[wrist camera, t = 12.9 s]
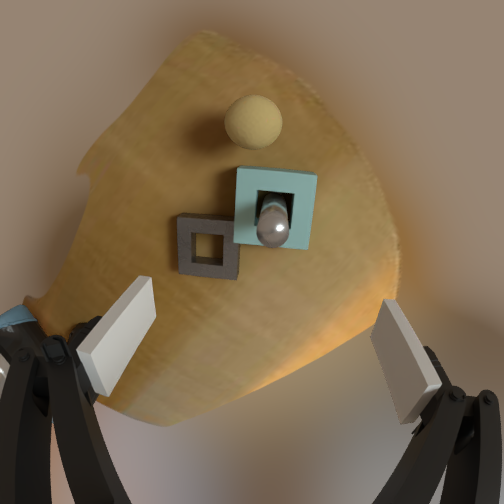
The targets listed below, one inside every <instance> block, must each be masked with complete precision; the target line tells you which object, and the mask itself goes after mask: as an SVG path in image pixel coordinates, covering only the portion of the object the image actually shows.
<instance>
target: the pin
mask: <svg viewBox="0 0 504 504" xmlns="http://www.w3.org/2000/svg"><path fill="white" fill-rule="evenodd" d="M256 235H257V238H258V240H259V241H260V243H261V244H263V245H264V246H266V247H269V248H276V247H280V246H282V245H283V244H284V243H285V242H286V241H287V239H288V237H289V225H288V217H287V208H286V201H285V198H284V197H283V195H281V194H280V193H277V192H271V193H269V194H267V195H266V196H265V198H264V200H263V205H262V209H261V213H260V217H259V221H258V225H257V230H256Z"/></svg>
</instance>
